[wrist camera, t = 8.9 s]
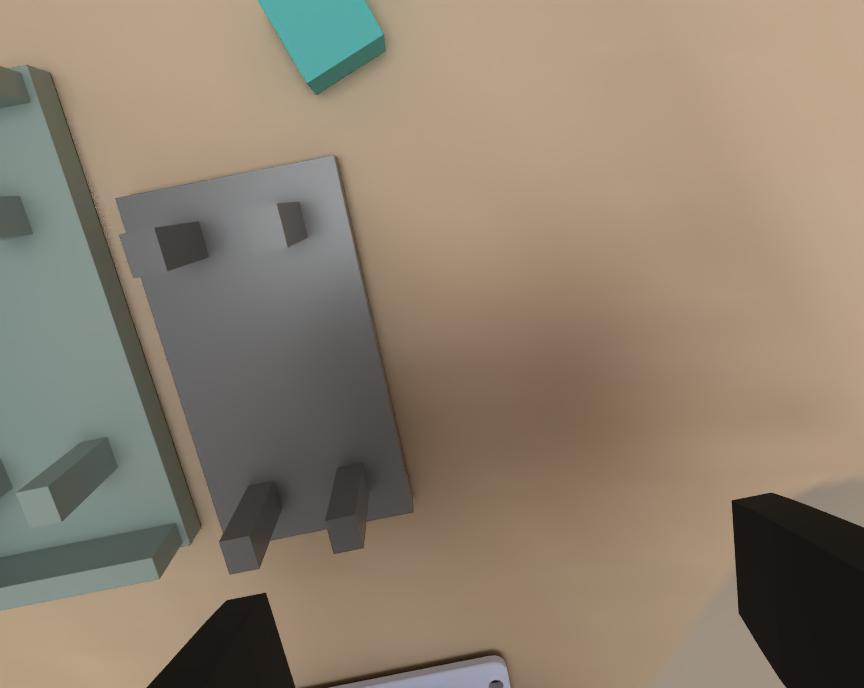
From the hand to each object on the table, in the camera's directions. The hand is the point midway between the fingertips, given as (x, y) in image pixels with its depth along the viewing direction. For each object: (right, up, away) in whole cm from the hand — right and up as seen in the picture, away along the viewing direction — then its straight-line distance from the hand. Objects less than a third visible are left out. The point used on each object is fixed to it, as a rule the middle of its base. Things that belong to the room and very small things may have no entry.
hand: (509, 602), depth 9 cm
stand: (-6, +3, +9) cm, 11 cm away
